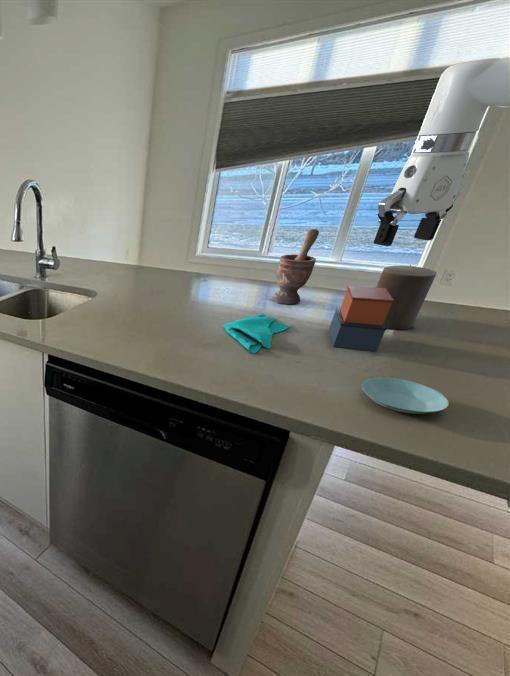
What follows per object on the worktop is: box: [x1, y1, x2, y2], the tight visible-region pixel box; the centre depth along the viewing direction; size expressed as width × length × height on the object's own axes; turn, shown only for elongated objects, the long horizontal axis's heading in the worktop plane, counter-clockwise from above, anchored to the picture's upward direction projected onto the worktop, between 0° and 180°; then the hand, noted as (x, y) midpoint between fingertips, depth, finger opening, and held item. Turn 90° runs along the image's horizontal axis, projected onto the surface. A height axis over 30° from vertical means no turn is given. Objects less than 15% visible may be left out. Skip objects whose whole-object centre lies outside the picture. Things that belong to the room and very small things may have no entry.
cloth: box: [223, 313, 291, 355], centre depth 106 cm, size 26×14×2 cm, turn 132°
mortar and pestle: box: [271, 228, 320, 305], centre depth 120 cm, size 12×9×20 cm
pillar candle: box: [376, 264, 438, 331], centre depth 101 cm, size 10×10×15 cm
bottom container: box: [328, 307, 388, 353], centre depth 97 cm, size 8×11×6 cm
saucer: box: [361, 377, 450, 415], centre depth 75 cm, size 12×12×2 cm
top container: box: [339, 285, 394, 326], centre depth 94 cm, size 7×9×6 cm
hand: (402, 242), depth 82 cm, fingers open, 9 cm apart
